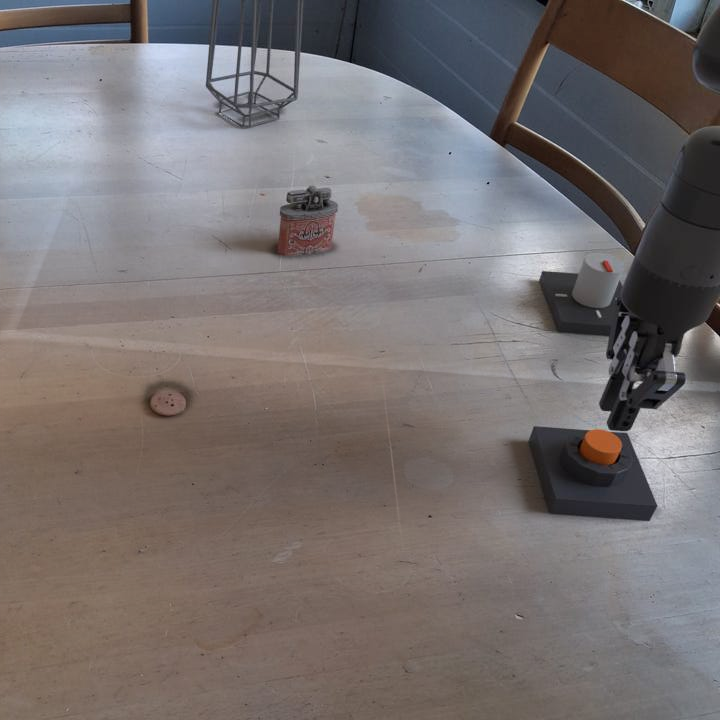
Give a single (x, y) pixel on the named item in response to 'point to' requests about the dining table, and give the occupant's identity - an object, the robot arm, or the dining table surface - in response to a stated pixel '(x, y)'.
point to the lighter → (307, 222)
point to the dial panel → (575, 306)
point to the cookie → (168, 403)
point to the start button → (600, 447)
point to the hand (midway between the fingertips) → (613, 417)
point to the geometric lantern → (253, 65)
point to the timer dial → (597, 280)
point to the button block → (589, 478)
